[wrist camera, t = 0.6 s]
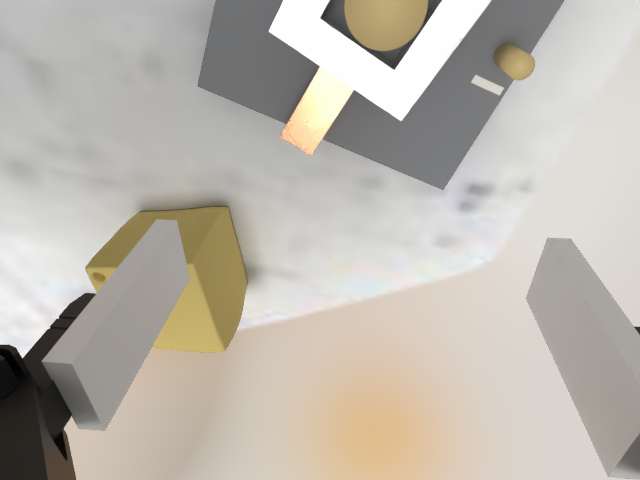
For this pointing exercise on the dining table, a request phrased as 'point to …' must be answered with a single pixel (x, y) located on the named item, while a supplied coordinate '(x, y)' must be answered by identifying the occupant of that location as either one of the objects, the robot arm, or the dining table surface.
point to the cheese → (204, 271)
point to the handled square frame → (364, 62)
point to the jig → (389, 40)
